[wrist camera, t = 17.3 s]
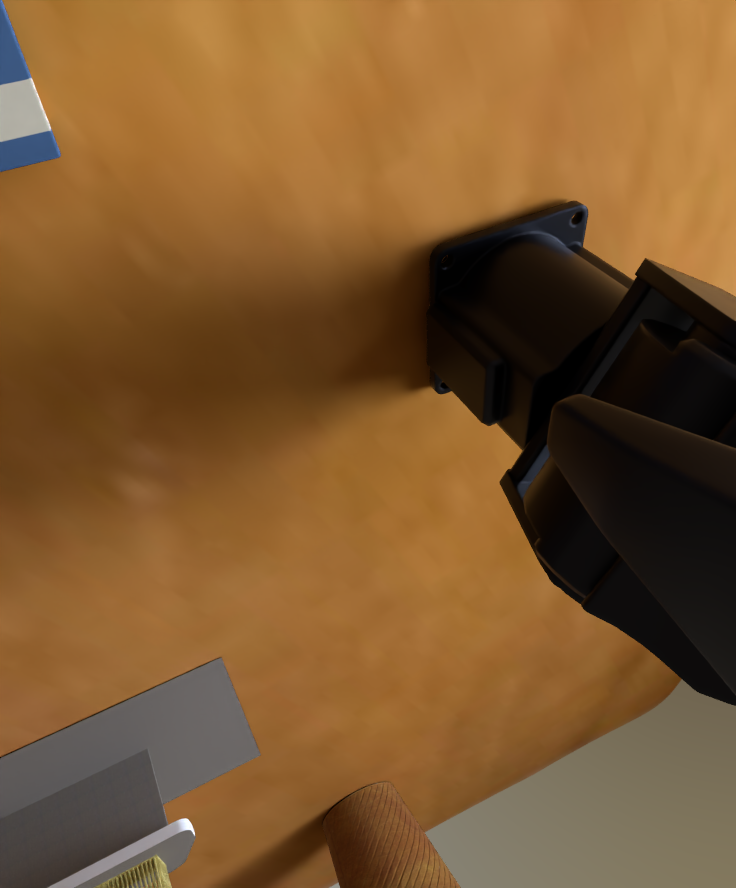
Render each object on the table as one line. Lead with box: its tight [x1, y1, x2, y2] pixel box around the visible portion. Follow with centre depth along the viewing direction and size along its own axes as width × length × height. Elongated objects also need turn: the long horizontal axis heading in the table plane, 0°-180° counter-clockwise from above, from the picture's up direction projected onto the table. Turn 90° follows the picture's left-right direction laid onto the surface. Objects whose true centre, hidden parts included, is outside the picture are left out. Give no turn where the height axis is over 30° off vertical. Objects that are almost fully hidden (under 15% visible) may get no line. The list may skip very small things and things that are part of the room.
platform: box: [0, 658, 260, 888], centre depth 33 cm, size 12×18×7 cm, turn 93°
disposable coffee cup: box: [322, 782, 461, 888], centre depth 51 cm, size 10×10×12 cm
